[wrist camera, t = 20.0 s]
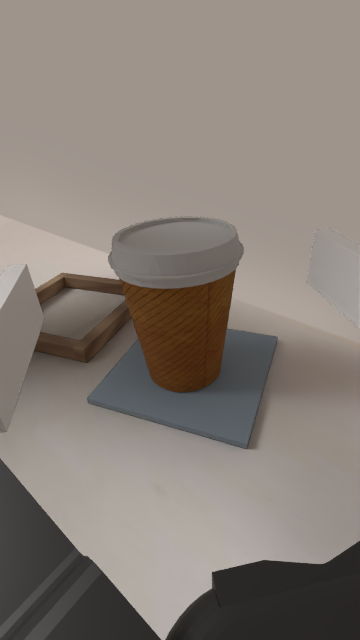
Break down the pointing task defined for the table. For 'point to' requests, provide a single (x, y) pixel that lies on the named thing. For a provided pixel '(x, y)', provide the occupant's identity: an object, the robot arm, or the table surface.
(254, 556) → the table surface
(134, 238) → the disposable coffee cup
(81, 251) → the table surface
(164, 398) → the rubber mat
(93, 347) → the cup holder frame
